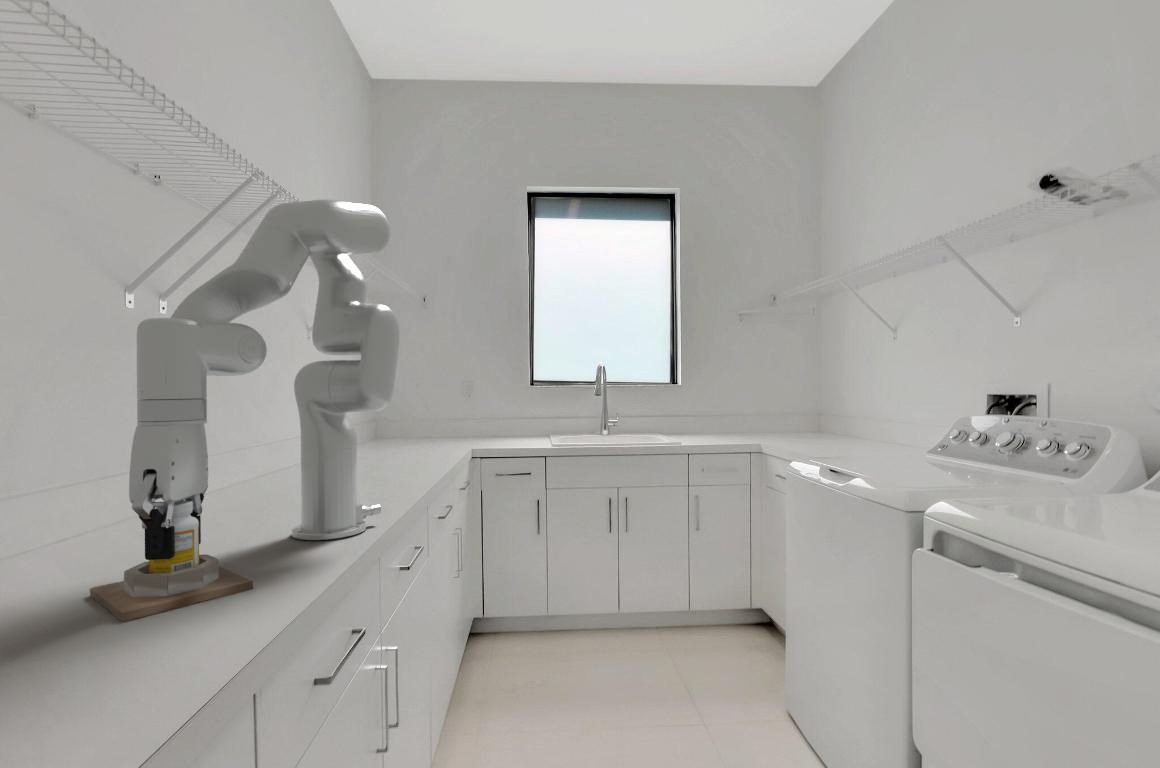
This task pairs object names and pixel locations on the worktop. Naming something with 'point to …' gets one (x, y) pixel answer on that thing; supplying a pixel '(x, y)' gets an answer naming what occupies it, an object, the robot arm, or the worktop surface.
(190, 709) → the worktop surface
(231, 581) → the ring socket
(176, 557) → the supplement bottle
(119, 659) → the worktop surface
